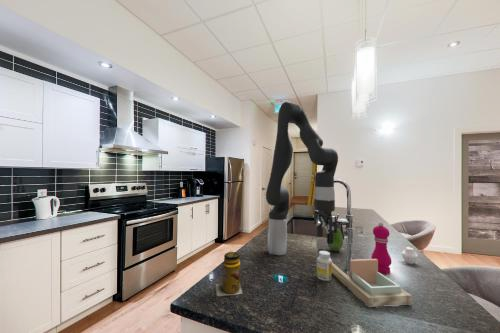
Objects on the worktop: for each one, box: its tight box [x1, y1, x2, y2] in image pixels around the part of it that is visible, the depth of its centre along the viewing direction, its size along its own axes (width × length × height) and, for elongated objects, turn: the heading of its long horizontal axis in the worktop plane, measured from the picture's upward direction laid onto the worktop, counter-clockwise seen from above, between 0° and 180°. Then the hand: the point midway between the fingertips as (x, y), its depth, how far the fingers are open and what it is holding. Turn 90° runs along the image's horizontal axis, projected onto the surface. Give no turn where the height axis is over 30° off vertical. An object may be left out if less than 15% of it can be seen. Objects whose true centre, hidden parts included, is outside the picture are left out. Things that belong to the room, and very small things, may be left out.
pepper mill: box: [370, 222, 393, 275], centre depth 87 cm, size 7×7×20 cm
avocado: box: [327, 227, 344, 252], centre depth 109 cm, size 8×8×12 cm
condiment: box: [215, 251, 243, 298], centre depth 72 cm, size 7×8×12 cm
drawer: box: [349, 258, 402, 294], centre depth 70 cm, size 10×11×9 cm
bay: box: [332, 262, 412, 307], centre depth 76 cm, size 14×25×3 cm, turn 6°
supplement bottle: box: [316, 250, 333, 282], centre depth 80 cm, size 5×5×10 cm
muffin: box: [401, 246, 419, 265], centre depth 95 cm, size 6×6×7 cm
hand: (324, 239), depth 81 cm, fingers open, 8 cm apart
